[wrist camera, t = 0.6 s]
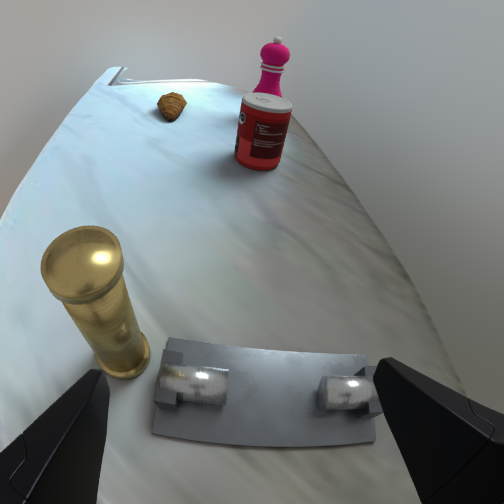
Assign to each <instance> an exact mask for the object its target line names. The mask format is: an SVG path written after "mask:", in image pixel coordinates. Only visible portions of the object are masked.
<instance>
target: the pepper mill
mask: <svg viewBox="0 0 504 504" xmlns="http://www.w3.org/2000/svg"><path fill="white" fill-rule="evenodd" d="M273 41H274V43H268V44H266V45H264V46H263V48H262V49H261V53H260V56H261V58H262V60H263V62H262V63H261V67H260V68H261V69H262V75H261V80H260V82H259V84H258V85H257V87H256V88H255V89H254V91H253V92H252V93H267V94H272V95H276V96H279V97H282V95H281V91H280V86H279V82H280V76H281V73H283V72H284V68H285V66H283V65H284V64H285V63H286V62H287V61H288V60H289V57H290V53H289V50H288V48H286V47H285V46H284V45H282V44H281V43H282V38H281V37H275V38H274V40H273Z"/></svg>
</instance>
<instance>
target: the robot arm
mask: <svg viewBox="0 0 504 504" xmlns="http://www.w3.org/2000/svg"><path fill="white" fill-rule="evenodd" d="M373 383H374V386H375V389H376V392H377V395H378V398H379V401H380V404H381V407H382V410H383V413H384V416H385V418H386V420H387V423H388V425H389V427H390V429H391V432H392V434H393V436H394V438H395V441H396V443H397V445H398V448H399V450H400V452H401V455H402V457H403V459H404V462H405V464H406V466H407V469H408V471H409V473H410V476H411V478H412V481H413V483H414V486H415V488H416V491H417V493H418V496H419V498H420V501H421V503H422V504H504V414H502V413H499V412H497V411H495V410H492V409H490V408H488V407H485V406H483V405H481V404H479V403H477V402H475V401H473V400H471V399H469V398H467V397H465V396H463V395H461V394H459V393H458V392H456V391H454V390H452V389H450V388H448V387H446V386H444V385H442V384H440V383H438V382H437V381H435V380H433V379H431V378H429V377H427V376H425V375H423V374H421V373H420V372H418V371H416V370H414V369H412V368H410V367H408V366H407V365H405V364H403V363H401V362H399V361H397V360H396V359H394V358H391V357H388V358H383V359H381V360H380V361H379V363H378V365H377V368H376V370H375V372H374V375H373ZM109 397H110V391H109V386H108V383H107V380H106V376H105V373H104V372H103V371H102V370H97V369H90V370H89V371H88V372H87V373H86V374H84V375H83V376H82V377H81V378H80V379H79V380H78V381H77V382H76V383H75V384H74V385H73V386H71V387H70V388H69V389H68V390H67V391H66V392H65V393H64V394H63V395H62V396H61V397H60V398H59V399H57V400H56V401H55V402H54V403H53V404H52V405H51V406H50V407H49V408H48V409H47V410H46V411H45V412H44V413H43V414H41V415H40V416H39V417H38V418H37V419H36V420H35V421H34V422H33V423H32V424H31V425H30V426H29V427H28V428H27V429H26V430H25V431H24V432H23V434H20V435H19V436H18V437H17V438H16V439H15V440H14V441H13V442H12V443H11V444H10V445H9V446H7V447H6V448H5V449H4V450H3V451H2V452H0V504H96V501H97V493H98V485H99V478H100V471H101V465H102V458H103V453H104V447H105V441H106V433H107V420H108V407H109Z"/></svg>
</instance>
